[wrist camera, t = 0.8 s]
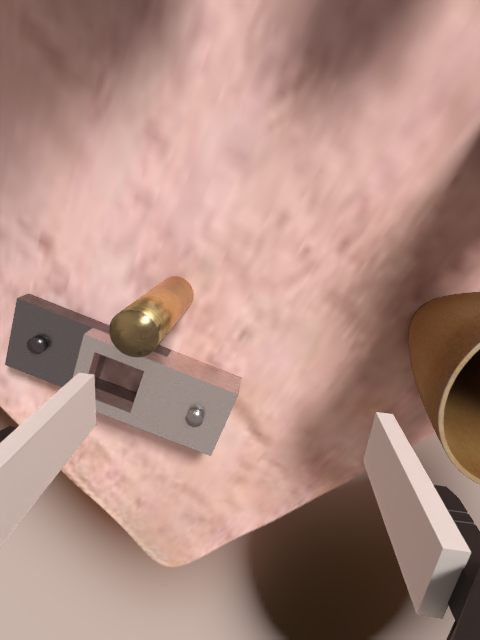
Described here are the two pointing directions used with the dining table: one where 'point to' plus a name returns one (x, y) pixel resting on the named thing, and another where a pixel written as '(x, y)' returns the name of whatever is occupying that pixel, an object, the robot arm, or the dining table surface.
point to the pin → (150, 317)
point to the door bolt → (159, 366)
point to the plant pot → (450, 374)
